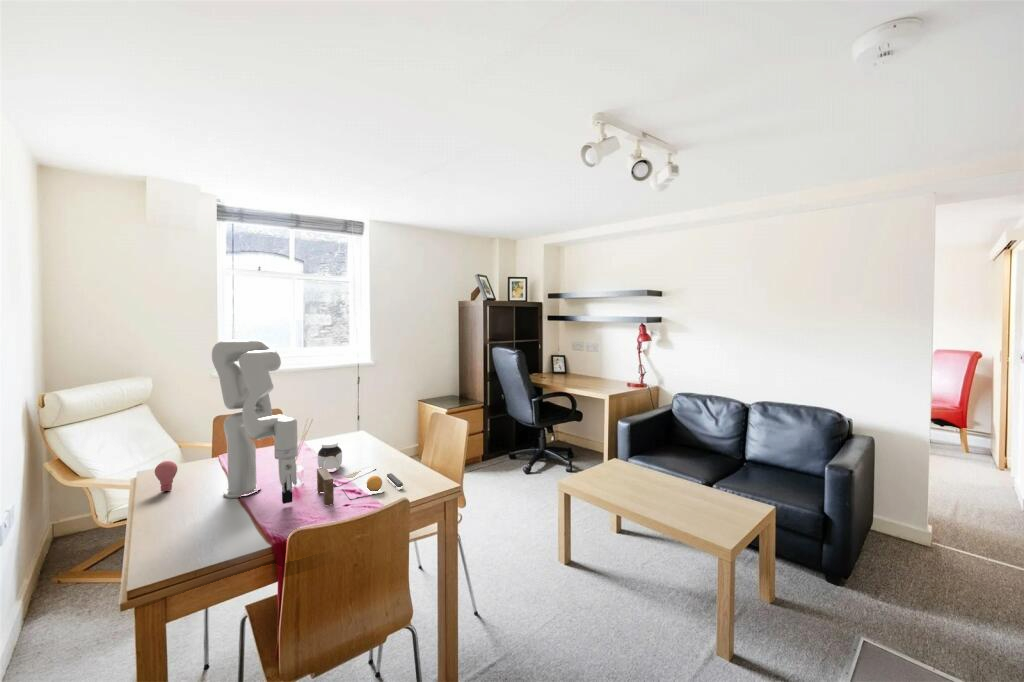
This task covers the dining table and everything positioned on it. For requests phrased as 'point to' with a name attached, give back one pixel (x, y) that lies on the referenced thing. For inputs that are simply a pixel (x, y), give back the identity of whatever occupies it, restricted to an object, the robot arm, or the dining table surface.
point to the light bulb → (166, 474)
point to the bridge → (325, 485)
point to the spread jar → (330, 455)
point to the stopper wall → (395, 480)
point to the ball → (374, 483)
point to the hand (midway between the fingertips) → (287, 502)
